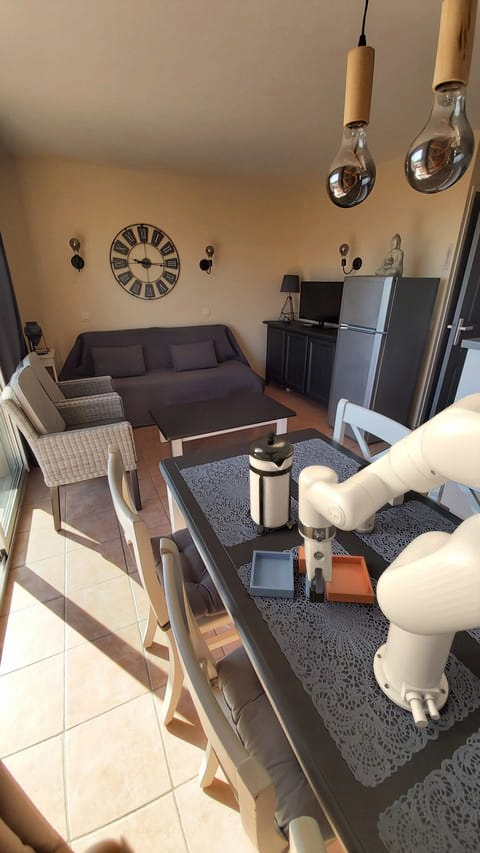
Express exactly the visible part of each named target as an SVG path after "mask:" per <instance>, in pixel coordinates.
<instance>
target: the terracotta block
mask: <svg viewBox="0 0 480 853" xmlns="http://www.w3.org/2000/svg"><path fill="white" fill-rule="evenodd" d="M297 560H298V561H297V562H298V573H299V574H306V573H307V567H306V559H305V545H304V546H303V545H302V546H301V545H299V546H298V559H297Z"/></svg>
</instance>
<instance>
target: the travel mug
mask: <svg viewBox="0 0 480 853" xmlns="http://www.w3.org/2000/svg"><path fill="white" fill-rule="evenodd" d="M369 465H370V464H367V463H366V464H362V465H360V466H358V468H357V471H356V474H357V473H358V472H360V471H361V470H363V469H364V468H366V467H367V466H369ZM376 512H377V511H376ZM376 512H375V513H374V514H373V515H371V516H370V517H369V518H368V519H367V520H366V521H365V522H364V523H362V524H361V525H360V526H359V527H357V528H356V529H354V532H357V533H360V534H370V533H371V532H373V531H374V526H375V520H376Z"/></svg>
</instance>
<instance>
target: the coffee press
mask: <svg viewBox="0 0 480 853" xmlns="http://www.w3.org/2000/svg"><path fill="white" fill-rule="evenodd" d="M247 453H248V455H249V457H248V468H249V494H250V495H249V497H250V500H249V501H250V502H249V503H250V509H249V510H248V512H247V514H248V515H249V516H250V517H251V519H252V521H253V522H254V523H255V524H257V525H258V528H257V534H258V535H261V536H262V535H263V534H264V533H265V529H266V528H269V529H272V528H279V527H281V526H284V525H286V527H287V528H288V529H290V530H291V529H293V528H294V526H295V523H294V522H293V520H292V513H291V512H292V483H293V482H292V481H293V468H294V458H293V455H294V453H295V448H294V445H293V444H292V442H291V441H290V439H288V438H286V437H284V436H282V435H278V434H276V433H275V432H274V431H273V430H269V431H268V432H267V434H262V435H259V436H257V437H255V438H254V439H253V440H251V442H250V444H249V445H248V447H247Z"/></svg>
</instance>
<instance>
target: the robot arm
mask: <svg viewBox="0 0 480 853" xmlns="http://www.w3.org/2000/svg"><path fill="white" fill-rule="evenodd" d="M452 481H453V482H456V483H458V484H461V485H464V486H467V487H471V488H475V489H479V490H480V392H475V393H471V394H468V395H466V396H464V397H462V398H460V399H458V400H457V401H456V402H454V403H452V404H450V405H449V406H447V407H446V408H445V409H443V410H442V411H440V412H438V413H437V414H435V416H433V417H432V418H430V419H429V420H427V421H426V422H425V423H423V424H421V425H420V426H419V427H417V428H416V429H414V430H412V431H411V432H410V433H408V434H407V435H405V436H404V437H402V438H401V439H400V440H398V441H396V442H394V443H393V444H392V445H391V446H390V448H389V450H388V451H387V453H385V454H384V455H382V456H381V457H379V458H378V459H377V460H375V461H374V462H372V463H371V464H370V465H369V466H367V467H366V468H364V469H363V470H361V471H360V472H358V473H357V472H356V473H355V474H353V475H352V476H350V477H349V478H347V479H346V480H344V481H343V482H340V483H339V477H338V474H337V473H336V471H335V470H334V469H332V468H331V467H329V466H326V465H319V464H318V465H317V464H316V465H310V466H307V467H304V468H303V469H302V470H301V471H300V473H299V476H298V532H299V534H300V536H301V537H302V538H304V546H305V559H306V567H307V575H308V580H309V581H310V582H311V587H309V598H308V602H309V604H310V603H311V604H325V599H326V596H325V587H324V580H325V582H326V583H330V582H331V581H332V555H333V552H332V551H333V546H332V539H334V538H335V537H336V534H337V528H338V529H339V530H342V531H345V532H350V531H353V530H354V529H356V528H357V527H359V526H360V525H361V524H362V523H364V522H365V521H366V520H367V519H368V518H369V517H370V516H371V515H373V514H374V513H375V512H378V511H379V510H380V509H381V508H383V507H384V506H385V505H386V504H389V501H391V500H393V499H394V498H396V497H398V496H400V495H402V494H404V495H405V493H408V492H410V491H411V490H412V491H414V492H417V493H422V494H425V493H430V492H432V491H434V490H437V489H438V488H440V487H442V486H445V485H446V484H448V483H451V482H452ZM354 531H355V530H354ZM313 581H316V585H313ZM376 600H377V602H378V606H379V609H380V610H381V612H382V613H383V615H384V616H385V617H386V619H387V620H388V621H389V628H388V632H387V633H388V634H387V637H386V643H383V644H382V645H381V646H379V648H377V650H376V652H375V654H374V657H373V664H372V665H373V666H372V667H373V674H374V677H375V680H376V682H377V684H378V685H379V688H380V689H381V690H382V692H383V693H384V695H386V697H387V698H388V699H389V700H391V702H393V703H394V704H395V705H397V706H398V707H400V708H401V709H403V710H405V711H408V712H411V713H412V717H413V720H414V723H415V726H416V727H418V728H420V729H421V728H423V729H424V728H426V727H428V726H429V722H428V719H427V715H429V716H430V718H431V719H432V720H434V721H437V720H439V719H441V716H440V713H439V711H440V710H441V709H442V708H443V707H444V706H445V704H446V702H447V699H448V697H449V682H448V679H447V675H446V674H445V668H446V664H447V661H448V658H449V655H450V651H451V649H452V648H451V647H452V645H453V641H454V638H455V636H456V633H458V632H462V631H467V630H473V629H477V628H480V512H478V513H475V514H473V515H471V516H469V517H467V518H465V520H463V521H462V522H461V523H460V524H459V525H458V526H457V528H456V529H455V530H454V531H453V532H452V533H448V532H445V531H441V530H433V531H431V530H430V531H427V532H424V533H422V534H420V535H418V536H417V537H415V538H414V539H412V540H411V541H410V543H409V544H407V545H406V547H405V548H404V549H403V550H402V551H401V552H400V553H399V554H398V556H397V557H395V559H394V560H393V561H392V563H390V565H388V567H386V569H385V570H384V571H383V572H382V574H381V575H380V577H379V578H378V581H377V584H376Z"/></svg>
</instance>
